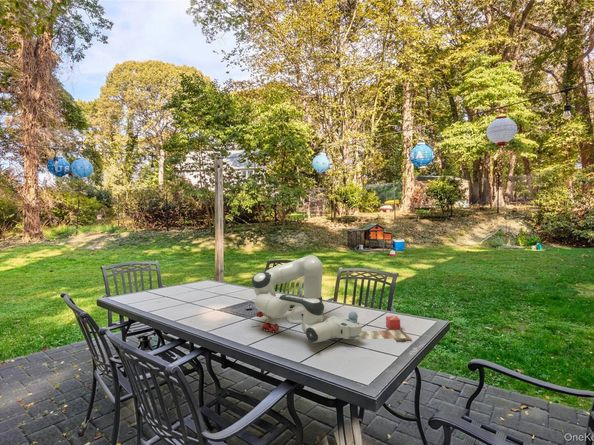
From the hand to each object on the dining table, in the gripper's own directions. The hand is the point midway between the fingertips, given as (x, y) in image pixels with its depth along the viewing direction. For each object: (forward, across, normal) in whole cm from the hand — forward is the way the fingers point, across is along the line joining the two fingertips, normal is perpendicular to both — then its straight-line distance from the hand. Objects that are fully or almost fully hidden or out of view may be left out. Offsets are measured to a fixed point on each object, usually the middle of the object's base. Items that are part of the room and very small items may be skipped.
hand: (354, 321), depth 176 cm
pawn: (-1, 0, -7) cm, 7 cm away
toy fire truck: (-31, -36, -9) cm, 49 cm away
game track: (+9, +6, -8) cm, 14 cm away
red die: (+27, +4, -8) cm, 29 cm away
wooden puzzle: (+9, -64, -9) cm, 65 cm away
